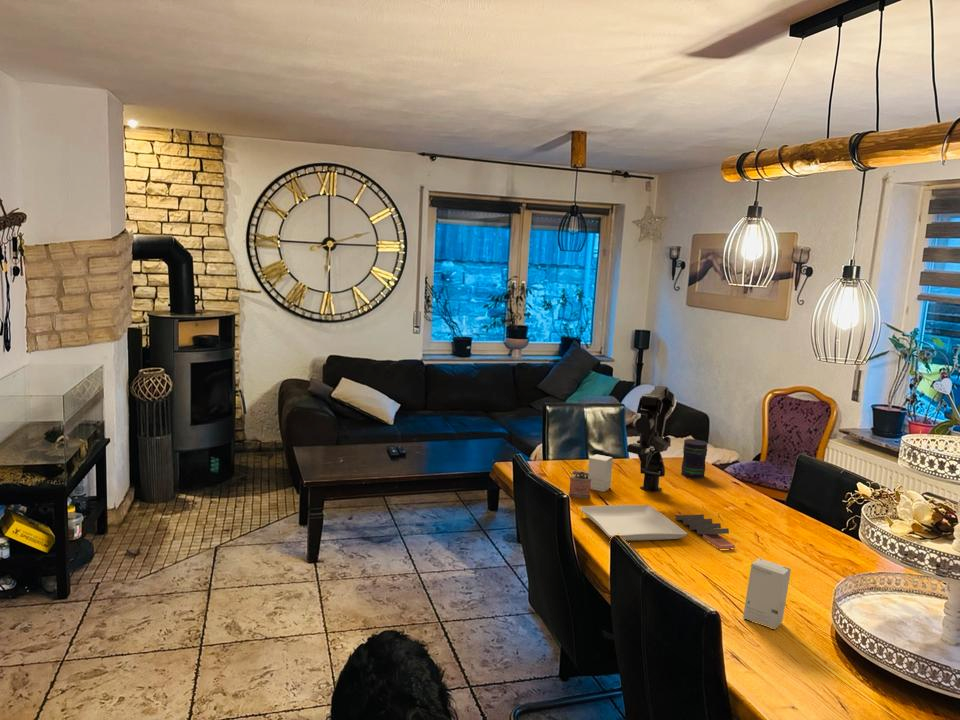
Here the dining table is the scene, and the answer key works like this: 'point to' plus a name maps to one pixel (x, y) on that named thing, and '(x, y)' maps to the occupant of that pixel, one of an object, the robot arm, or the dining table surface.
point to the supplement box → (600, 472)
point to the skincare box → (766, 593)
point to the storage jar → (694, 458)
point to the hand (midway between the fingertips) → (644, 468)
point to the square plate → (633, 522)
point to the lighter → (580, 484)
